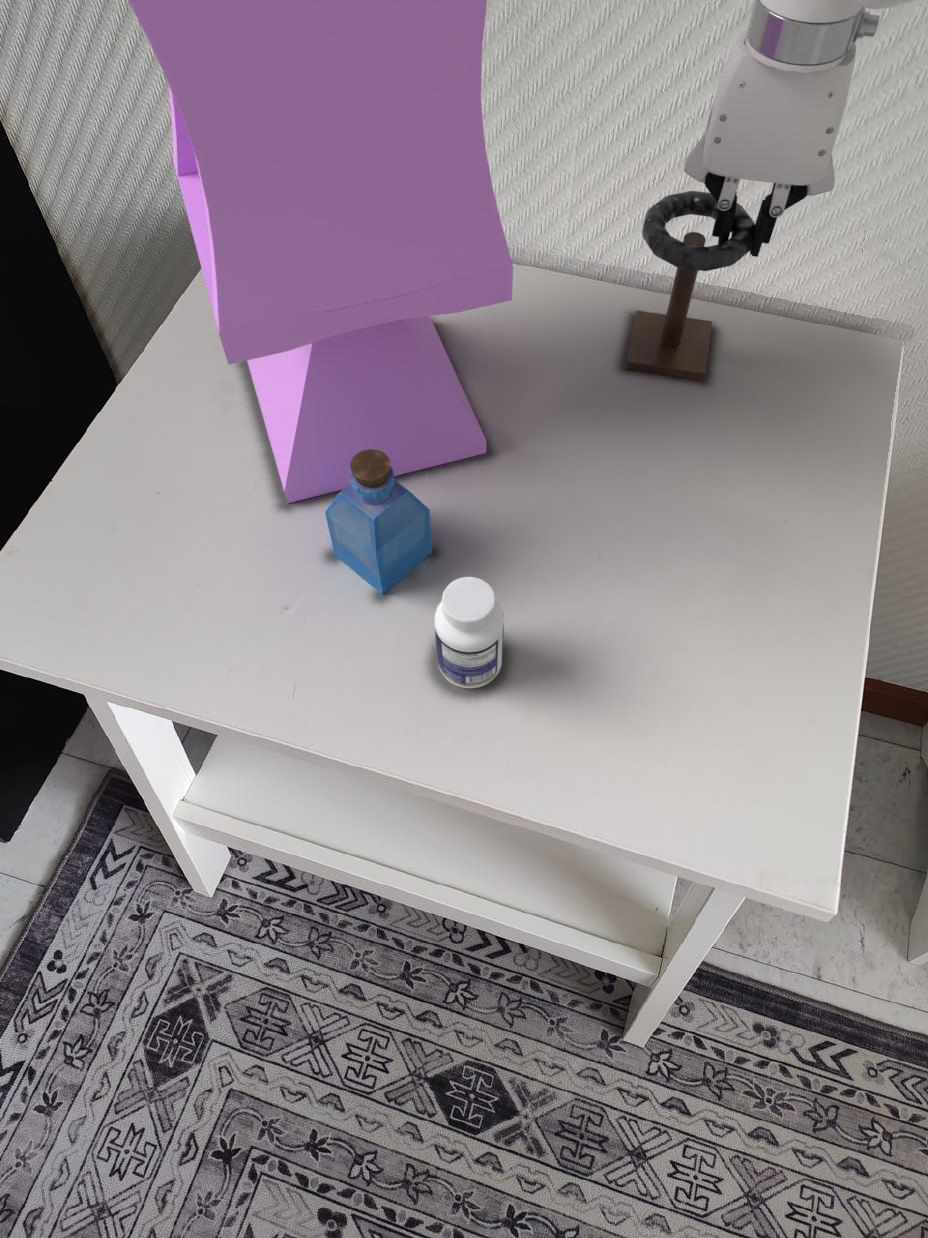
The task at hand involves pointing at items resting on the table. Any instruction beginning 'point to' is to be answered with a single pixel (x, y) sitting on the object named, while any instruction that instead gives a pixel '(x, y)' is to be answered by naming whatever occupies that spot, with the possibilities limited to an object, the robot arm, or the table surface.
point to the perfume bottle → (378, 523)
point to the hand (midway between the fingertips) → (738, 243)
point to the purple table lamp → (338, 214)
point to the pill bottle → (469, 633)
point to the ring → (694, 254)
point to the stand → (672, 332)
